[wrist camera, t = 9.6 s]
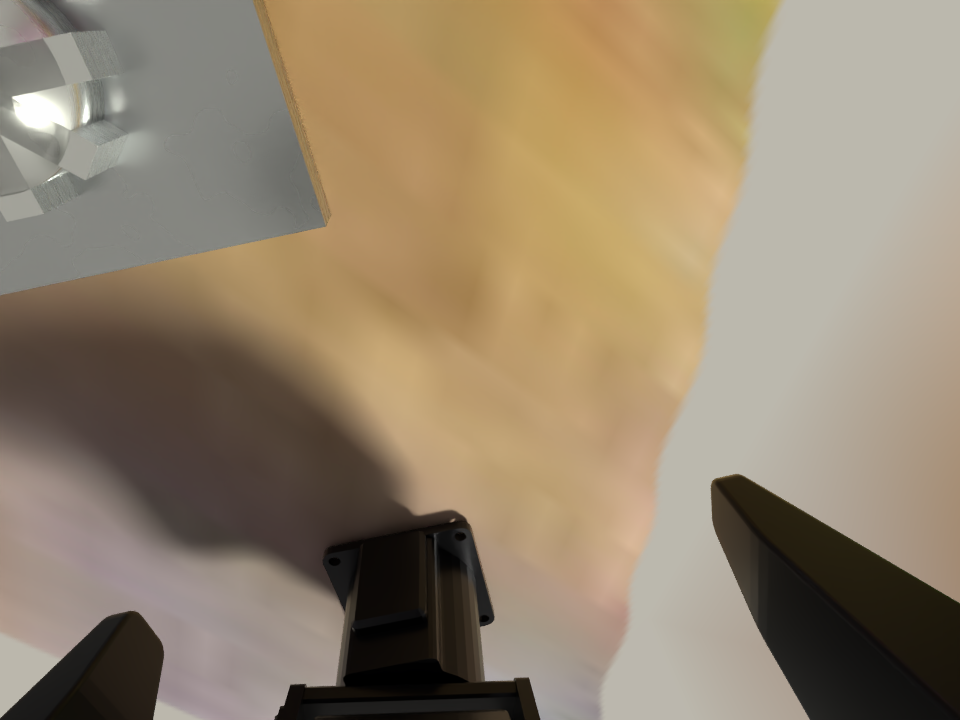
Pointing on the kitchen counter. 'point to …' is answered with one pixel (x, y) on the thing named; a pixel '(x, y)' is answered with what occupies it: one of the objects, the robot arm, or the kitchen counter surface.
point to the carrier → (144, 136)
